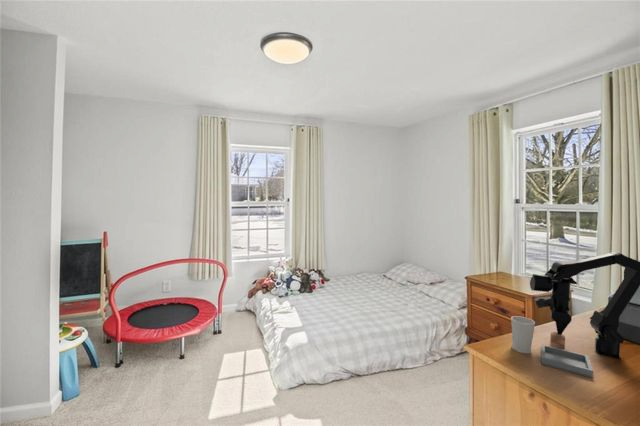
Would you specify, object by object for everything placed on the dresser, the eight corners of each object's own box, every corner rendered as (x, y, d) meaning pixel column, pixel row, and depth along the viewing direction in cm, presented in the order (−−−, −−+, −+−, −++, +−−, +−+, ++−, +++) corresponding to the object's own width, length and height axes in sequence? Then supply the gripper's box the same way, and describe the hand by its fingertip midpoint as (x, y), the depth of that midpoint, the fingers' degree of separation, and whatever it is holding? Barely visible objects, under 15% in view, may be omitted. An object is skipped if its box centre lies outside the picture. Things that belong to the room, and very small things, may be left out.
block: (563, 345, 126) (564, 334, 126) (564, 350, 123) (565, 337, 122) (550, 342, 129) (550, 331, 129) (550, 346, 125) (551, 334, 125)
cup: (537, 355, 117) (539, 325, 117) (514, 352, 119) (516, 322, 118) (527, 345, 125) (529, 317, 125) (506, 343, 127) (507, 315, 126)
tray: (587, 361, 113) (587, 355, 113) (592, 378, 103) (593, 370, 103) (541, 350, 121) (541, 344, 121) (541, 364, 111) (542, 357, 111)
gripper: (536, 284, 137) (534, 318, 138) (536, 294, 122) (534, 332, 122) (568, 289, 130) (566, 325, 131) (572, 300, 115) (570, 340, 116)
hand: (558, 330), depth 125 cm, fingers open, 9 cm apart
